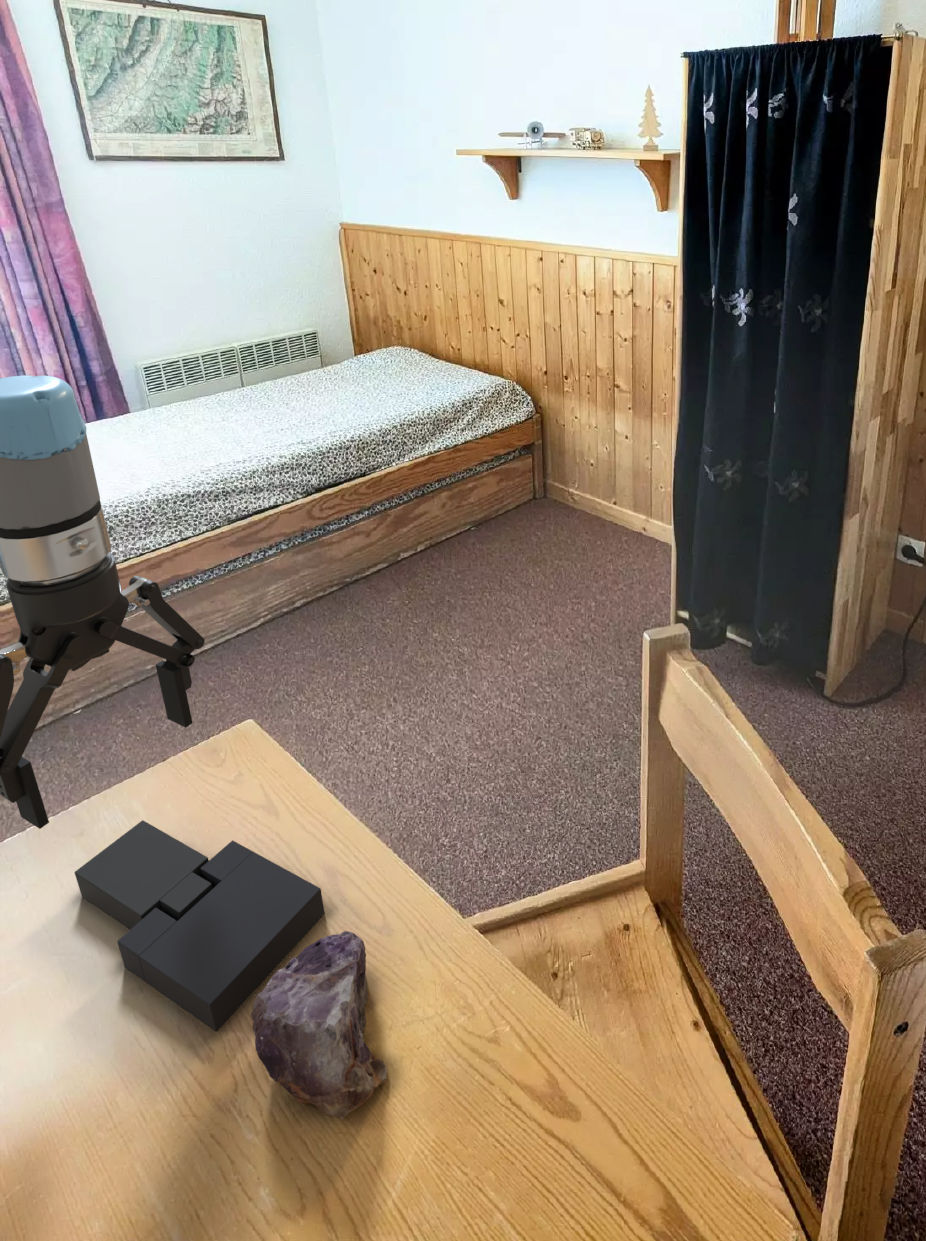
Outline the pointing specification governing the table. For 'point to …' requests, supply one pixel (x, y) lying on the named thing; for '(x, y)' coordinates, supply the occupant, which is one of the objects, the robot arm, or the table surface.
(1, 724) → the robot arm
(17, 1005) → the table surface
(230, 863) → the dock pad
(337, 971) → the rock
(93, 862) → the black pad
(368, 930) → the table surface
